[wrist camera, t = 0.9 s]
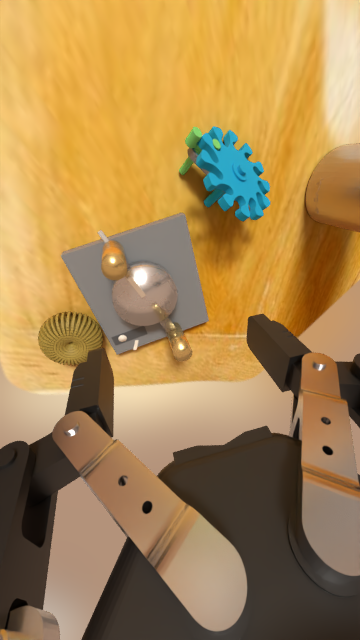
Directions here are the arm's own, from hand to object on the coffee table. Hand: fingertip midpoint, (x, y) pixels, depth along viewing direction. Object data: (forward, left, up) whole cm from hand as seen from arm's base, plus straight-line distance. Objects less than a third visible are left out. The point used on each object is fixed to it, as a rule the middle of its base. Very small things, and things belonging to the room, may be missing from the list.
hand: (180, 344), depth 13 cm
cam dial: (+1, +6, -19) cm, 20 cm away
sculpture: (+13, +8, -21) cm, 26 cm away
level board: (+1, +6, -20) cm, 21 cm away
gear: (-12, -5, -21) cm, 24 cm away
